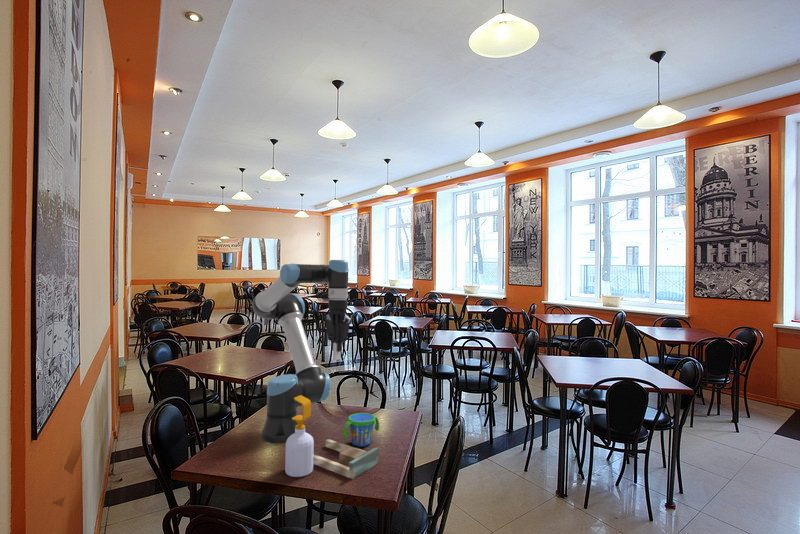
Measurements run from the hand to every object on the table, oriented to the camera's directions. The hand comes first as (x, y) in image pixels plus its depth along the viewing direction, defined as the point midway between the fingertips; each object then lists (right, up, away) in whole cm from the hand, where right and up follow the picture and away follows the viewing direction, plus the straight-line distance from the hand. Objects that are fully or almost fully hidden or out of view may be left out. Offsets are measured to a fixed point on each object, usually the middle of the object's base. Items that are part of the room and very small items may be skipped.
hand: (336, 359), depth 160 cm
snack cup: (+10, -33, -1) cm, 34 cm away
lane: (+3, -32, -16) cm, 36 cm away
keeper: (+8, -32, -19) cm, 38 cm away
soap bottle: (-9, -32, -24) cm, 41 cm away
